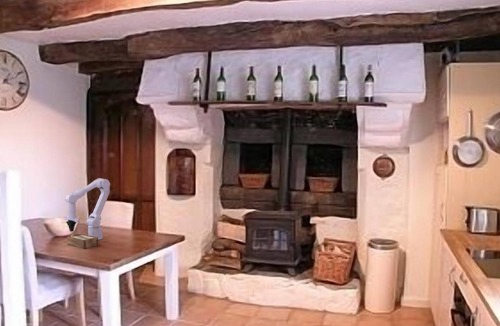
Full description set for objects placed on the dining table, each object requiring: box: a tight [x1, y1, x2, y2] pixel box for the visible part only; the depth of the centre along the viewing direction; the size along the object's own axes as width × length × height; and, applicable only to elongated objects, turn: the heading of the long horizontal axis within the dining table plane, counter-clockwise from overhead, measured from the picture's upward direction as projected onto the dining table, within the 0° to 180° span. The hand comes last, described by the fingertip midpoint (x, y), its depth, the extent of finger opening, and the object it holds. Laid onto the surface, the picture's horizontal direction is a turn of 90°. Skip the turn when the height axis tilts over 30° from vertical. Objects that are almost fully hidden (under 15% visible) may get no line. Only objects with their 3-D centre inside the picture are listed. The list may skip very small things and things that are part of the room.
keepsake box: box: [67, 233, 99, 250], centre depth 320 cm, size 11×18×6 cm, turn 55°
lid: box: [70, 232, 94, 240], centre depth 320 cm, size 9×16×2 cm, turn 55°
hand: (71, 231), depth 327 cm, fingers closed
